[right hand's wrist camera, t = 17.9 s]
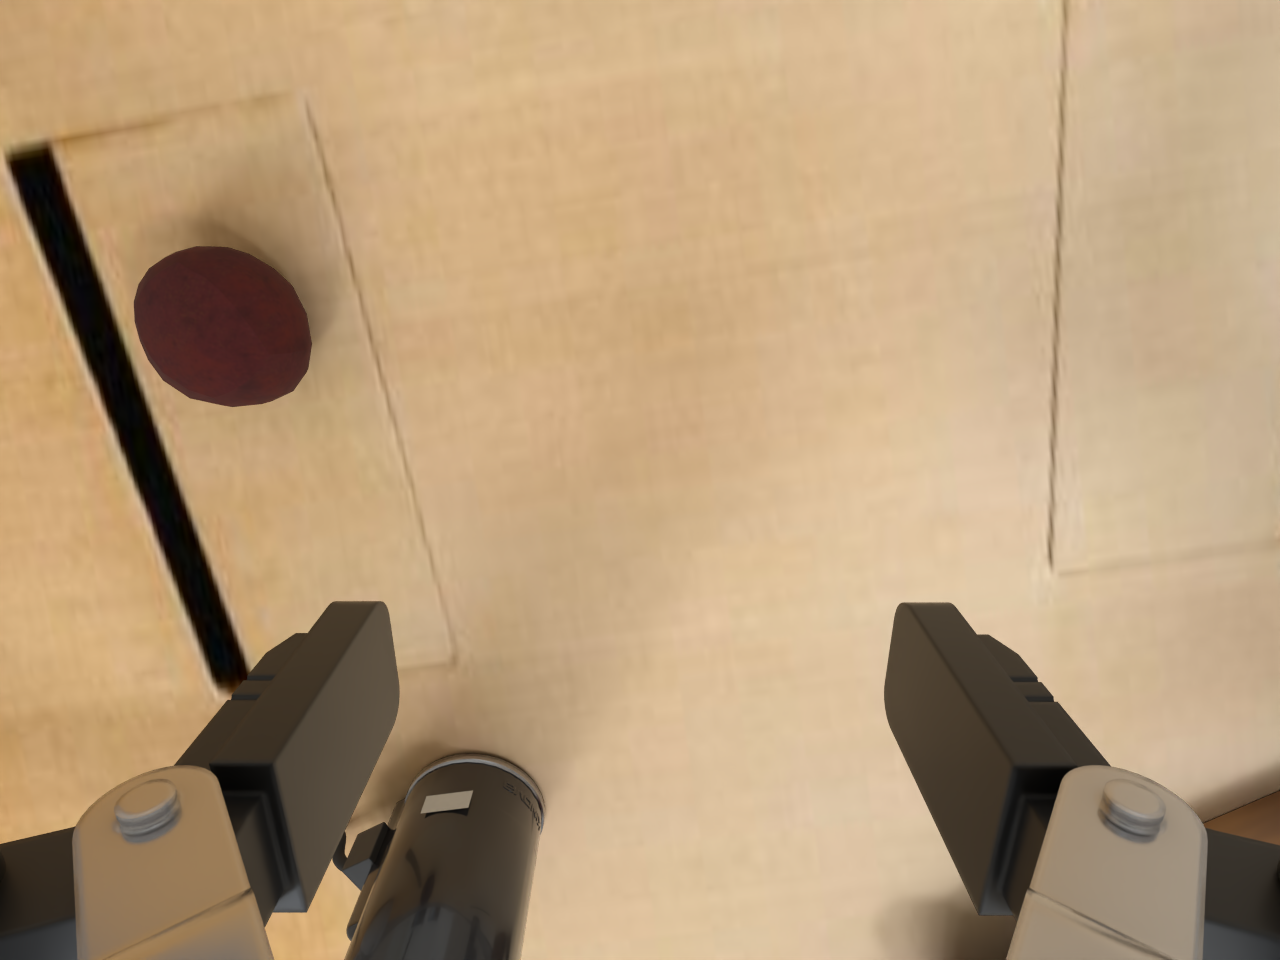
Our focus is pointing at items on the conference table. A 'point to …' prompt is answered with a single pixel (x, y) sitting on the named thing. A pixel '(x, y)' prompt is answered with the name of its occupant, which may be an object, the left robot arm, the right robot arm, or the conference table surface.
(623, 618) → the conference table surface
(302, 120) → the conference table surface
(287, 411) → the conference table surface
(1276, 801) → the bar
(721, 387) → the conference table surface
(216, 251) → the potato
